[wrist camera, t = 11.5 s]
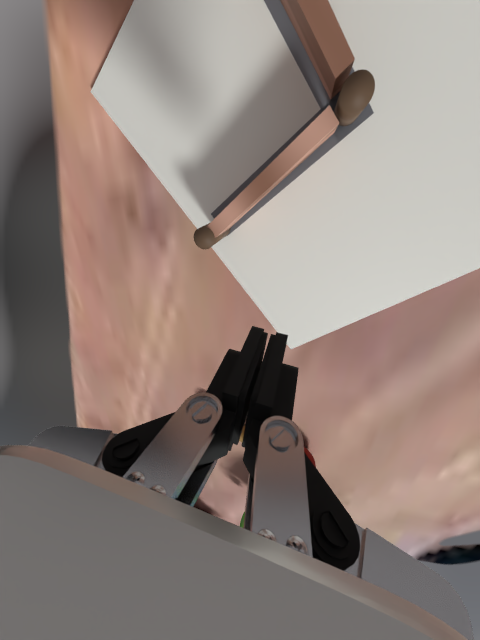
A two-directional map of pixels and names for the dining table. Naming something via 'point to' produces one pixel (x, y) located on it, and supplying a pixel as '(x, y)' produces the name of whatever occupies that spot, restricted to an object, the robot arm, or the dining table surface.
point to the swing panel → (268, 179)
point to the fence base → (331, 56)
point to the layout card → (326, 161)
